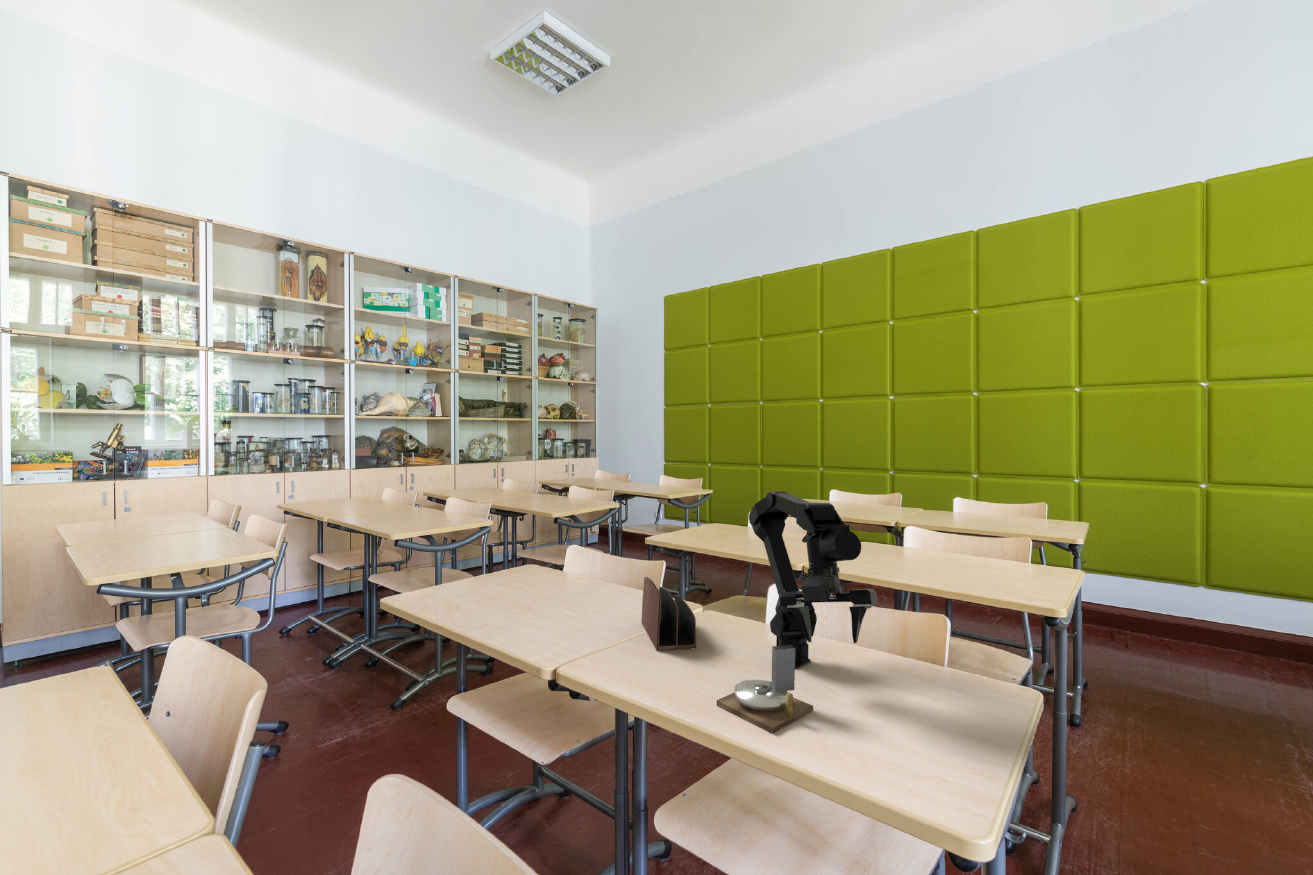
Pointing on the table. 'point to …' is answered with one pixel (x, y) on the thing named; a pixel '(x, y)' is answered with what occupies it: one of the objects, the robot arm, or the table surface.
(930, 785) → the table surface
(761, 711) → the walnut board
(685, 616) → the letter holder
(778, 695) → the disc and block
